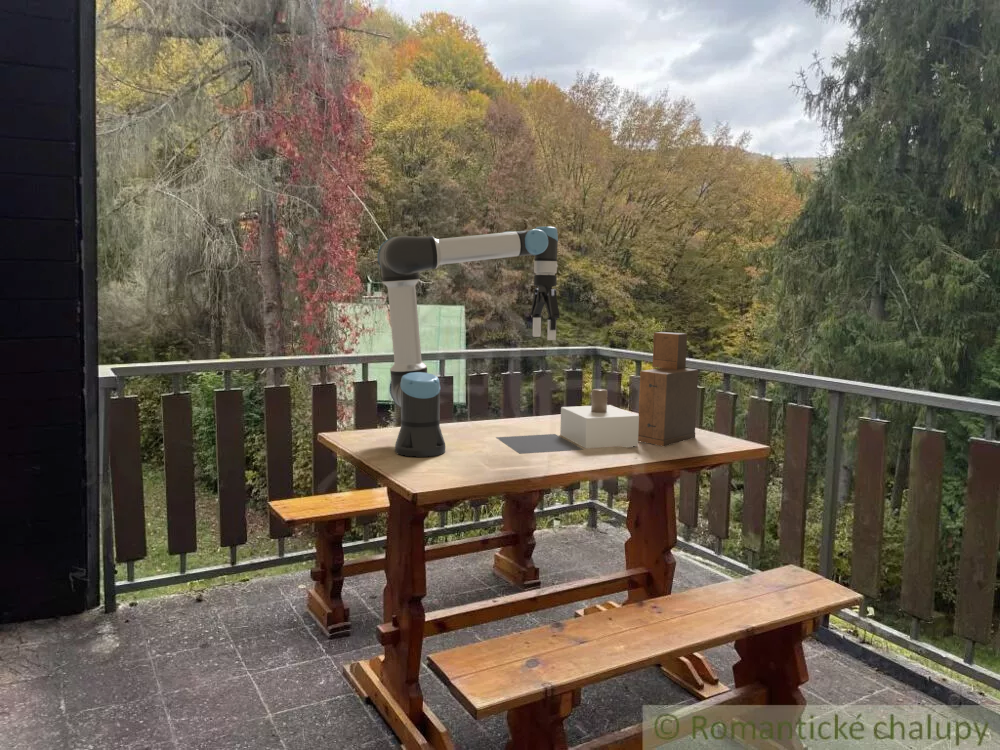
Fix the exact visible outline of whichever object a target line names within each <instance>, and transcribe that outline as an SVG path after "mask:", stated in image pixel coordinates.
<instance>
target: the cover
mask: <svg viewBox="0 0 1000 750" xmlns="http://www.w3.org/2000/svg"><path fill="white" fill-rule="evenodd" d="M559 430H560V432H559V434H560V435H559V436H561V437H563V438H564V439H565V438H566V440H568V441H570V442H572V443H574V444H576V445H579V447H580V446H581V448H583V449H595V448H596V449H597V448H599V449H600V448H611V447H612V448H613V447H622V448H624V447H626V448H634V447H633V446H638V447H639V441H638V430H639V414H635V413H633V412H630V411H627V410H626V409H622V408H620V407H616V406H614V405H613V404H608V389H605V388H604V389H603V388H594V389H591V405H581V406H577V405H575V406H561V407H560V429H559Z"/></svg>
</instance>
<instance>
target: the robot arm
mask: <svg viewBox="0 0 1000 750" xmlns="http://www.w3.org/2000/svg"><path fill="white" fill-rule="evenodd" d="M558 243H559V236H558V229H557V227H555V226H536V227H535V228H533V229H526V230H518V231H502V232H497V233H488V234H487V233H486V234H485V233H484V234H477V235H467V236H466V235H465V236H458V237H446V238H435V237H434V236H433V235H429V236H413V235H400V236H394V237H390V238H388V239H386V240H385V241H384V242H383V243H382V244H381V245H380V247H379V249H378V252H377V263H378V266H379V268H380V272H381V283H382V284H383V285H384V286H386V288H387V295H388V305H389V316H390V317H389V318H390V329H391V337H392V338H391V340H392V348H393V349H392V351H393V359H394V362H393V365H392V366H391V368H390V369H389V371H390V382H389V394H390V397H391V399H392V400H393V402H394V403H395V404H396V405H397V406H398V407H400V428H399V432H398V435H397V438H396V442H395V444H394V445H395V446H394V449H395V450H394V452H395V454H397V453H398V455H399V454H401V455H400V456H403V455H405V456H404V457H409V456H416V457H415V458H425V457H426V458H427V457H428V456H429V457H436V456H439V455H442V453H443V454H444V453H445V452H446V442H445V440H444V436H443V433H442V429H441V426H440V413H441V412H440V411H441V405H440V404H441V401H440V400H441V396H440V395H441V384H440V378H439V377H438V376H437V375H435V374H433V373H429V372H428V365H426V364H425V363H424V362H423V361H422V359H423V358H422V347H421V337H420V336H421V335H420V325H419V324H420V323H419V313H418V312H419V311H418V302H417V301H418V300H417V291H416V285H417V284H418V283H419V282H420V280H421V278H420V272H423V271H428V270H437V268H438V267H439V266H442V265H450V264H460V263H467V262H477V261H485V260H494V259H495V260H496V259H505V258H513V257H523V256H532V257H533V256H534V260H533V273H534V276H533V286H534V287H538V288H534V289H533V298H532V303H531V307H530V308H531V309H530V316H531V317H532V338H536V337H538V338H540V337H541V336H542V333H541V332H542V311H543V308H544V306H545V308H546V309H545V310H546V312H547V315H548V317H547V319H546V320H547V333H546V336H547V339H546V340H547V341H557V321H558V319H560V310H559V304H558V298H557V289H554V288H553V287H557V286H558V285H557V284H558V283H557V281H558V280H557V279H558V278H557V275H556V274H557V269H558V267H559V264H558Z"/></svg>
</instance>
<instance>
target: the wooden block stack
mask: <svg viewBox="0 0 1000 750" xmlns="http://www.w3.org/2000/svg"><path fill="white" fill-rule="evenodd" d="M687 342H688V333H683V332H666V331H659V332H658V331H657V332H656V331H655V332H653V347H652V351H653V352H652V366H651V367H652V369H645V370H639V371H640V372H639V394H638V395H639V398H638V416H639V430H638V442H639V441H641V442H640V443H644V442H646V443H645V444H649V443H651V444H650V445H654V444H655V445H654V446H659V447H667V446H671V445H674V444H678V443H682V442H685V441H689V440H694V439H696V420H697V419H696V418H697V399H698V397H697V396H698V382H699V381H698V380H699V369H698V368H697V369H694V368H688V367H687V368H686V363H687V345H688V344H687ZM653 368H654V369H653Z"/></svg>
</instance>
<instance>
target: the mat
mask: <svg viewBox="0 0 1000 750" xmlns="http://www.w3.org/2000/svg"><path fill="white" fill-rule="evenodd" d="M495 438H496V439H497V440H499V441H500V442H502V443H503V444H505V445H506V446H508V447H509V448H511V449H512V450H514V451H515V452H516V453H518V454H520V455H523V454H536V453H537V454H538V453H552V452H555V453H556V452H566V451H567V452H569V451H581V450H583V451H584V449H585V448H583V447H580V446H578V445H577V444H575V443H574V442H572V441H570V440H568V439H565V438H564V437H563V436H561V435H558V434H556V433H550V434H549V433H548V434H547V433H546V434H533V435H532V434H531V435H516V436H515V435H513V436H511V435H510V436H496V437H495Z"/></svg>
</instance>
